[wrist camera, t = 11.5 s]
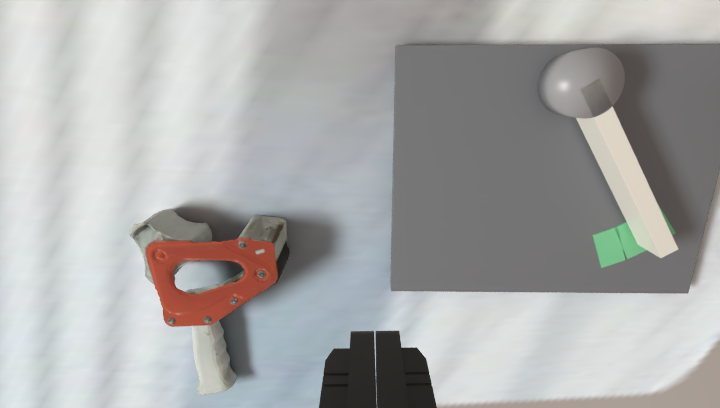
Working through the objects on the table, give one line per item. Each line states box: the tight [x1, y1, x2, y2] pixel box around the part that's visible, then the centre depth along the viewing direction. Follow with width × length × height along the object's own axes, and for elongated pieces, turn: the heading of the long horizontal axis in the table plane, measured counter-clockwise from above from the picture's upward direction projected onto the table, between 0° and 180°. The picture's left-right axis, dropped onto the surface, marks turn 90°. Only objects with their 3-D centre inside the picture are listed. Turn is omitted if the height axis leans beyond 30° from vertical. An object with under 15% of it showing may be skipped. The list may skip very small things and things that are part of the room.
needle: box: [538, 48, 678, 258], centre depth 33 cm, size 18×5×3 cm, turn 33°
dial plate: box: [391, 44, 720, 293], centre depth 36 cm, size 22×28×2 cm
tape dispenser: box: [130, 209, 289, 395], centre depth 39 cm, size 18×5×20 cm
